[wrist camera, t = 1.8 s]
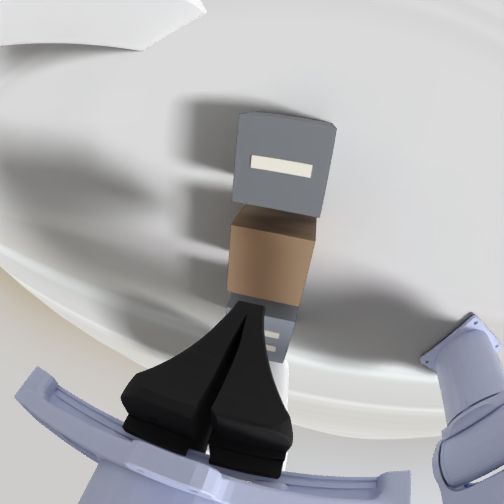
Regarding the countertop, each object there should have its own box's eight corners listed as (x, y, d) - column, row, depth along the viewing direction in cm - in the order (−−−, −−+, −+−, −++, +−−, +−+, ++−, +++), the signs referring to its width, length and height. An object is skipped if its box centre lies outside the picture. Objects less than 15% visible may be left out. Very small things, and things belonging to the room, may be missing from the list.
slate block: (301, 281, 23) (295, 323, 19) (290, 323, 26) (282, 364, 22) (242, 269, 24) (224, 307, 20) (238, 311, 27) (222, 350, 22)
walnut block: (316, 210, 20) (315, 241, 16) (304, 266, 23) (298, 306, 18) (250, 197, 21) (230, 225, 17) (244, 254, 23) (226, 290, 19)
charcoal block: (331, 123, 17) (336, 128, 12) (319, 191, 19) (319, 218, 15) (256, 111, 17) (236, 113, 13) (249, 178, 20) (228, 201, 16)
